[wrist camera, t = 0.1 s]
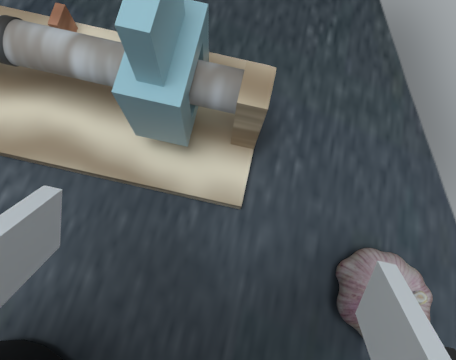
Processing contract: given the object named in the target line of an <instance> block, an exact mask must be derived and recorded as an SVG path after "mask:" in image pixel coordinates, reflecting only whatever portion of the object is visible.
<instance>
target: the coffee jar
mask: <svg viewBox="0 0 456 360" xmlns="http://www.w3.org/2000/svg"><path fill="white" fill-rule="evenodd" d="M0 360H63V359H62V358H61V357H59V356H58V355H57V354H55V353H54V352H53V351H51V350H50V349H49V348H47V347H46V346H43V345H40V344H36V343H33V342H30V341H27V340H11V341H0Z"/></svg>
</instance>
